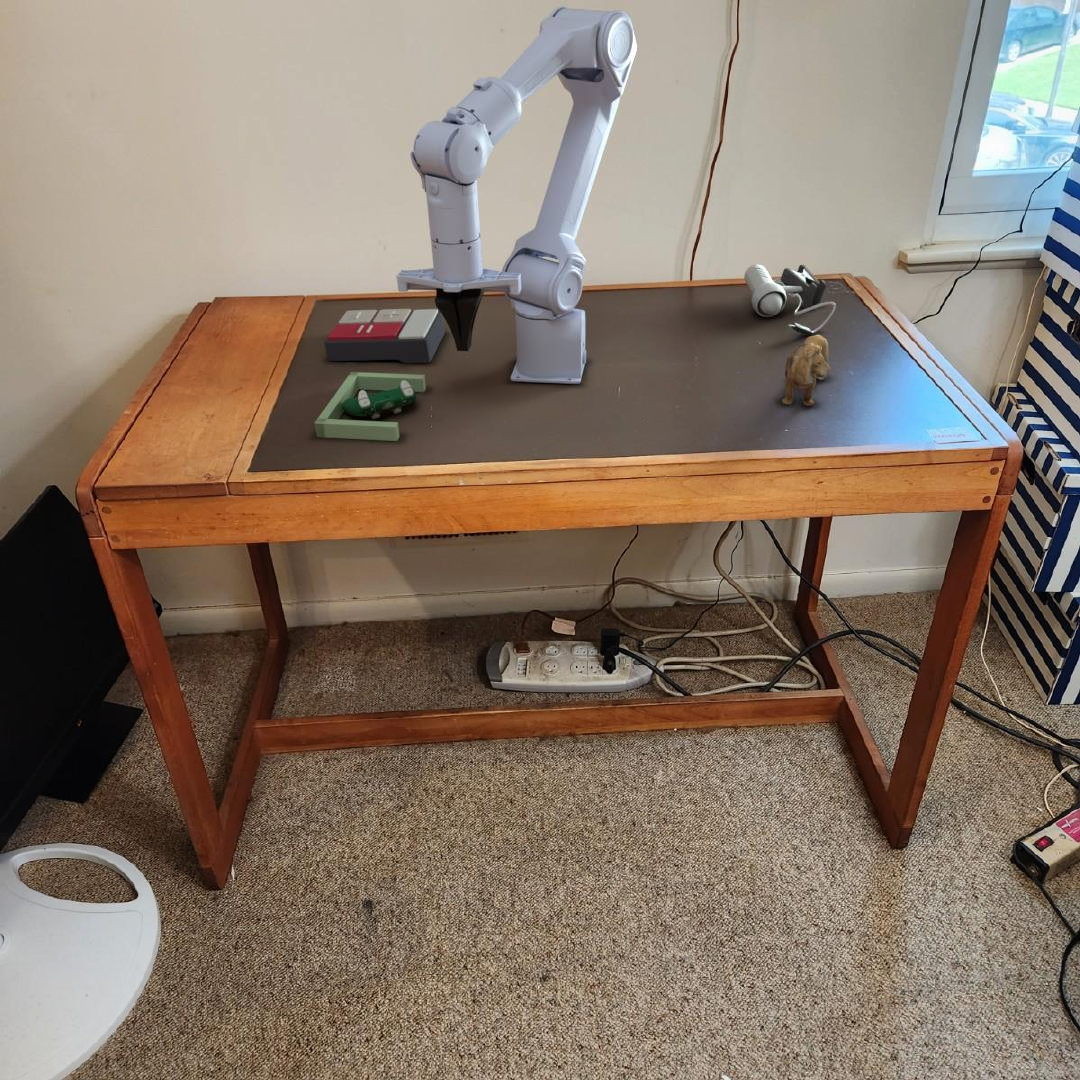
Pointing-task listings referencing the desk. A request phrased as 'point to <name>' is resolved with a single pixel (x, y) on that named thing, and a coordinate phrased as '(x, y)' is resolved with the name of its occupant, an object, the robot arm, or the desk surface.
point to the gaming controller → (380, 401)
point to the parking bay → (357, 429)
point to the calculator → (386, 335)
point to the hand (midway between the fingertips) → (464, 347)
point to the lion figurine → (806, 368)
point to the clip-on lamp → (773, 296)
